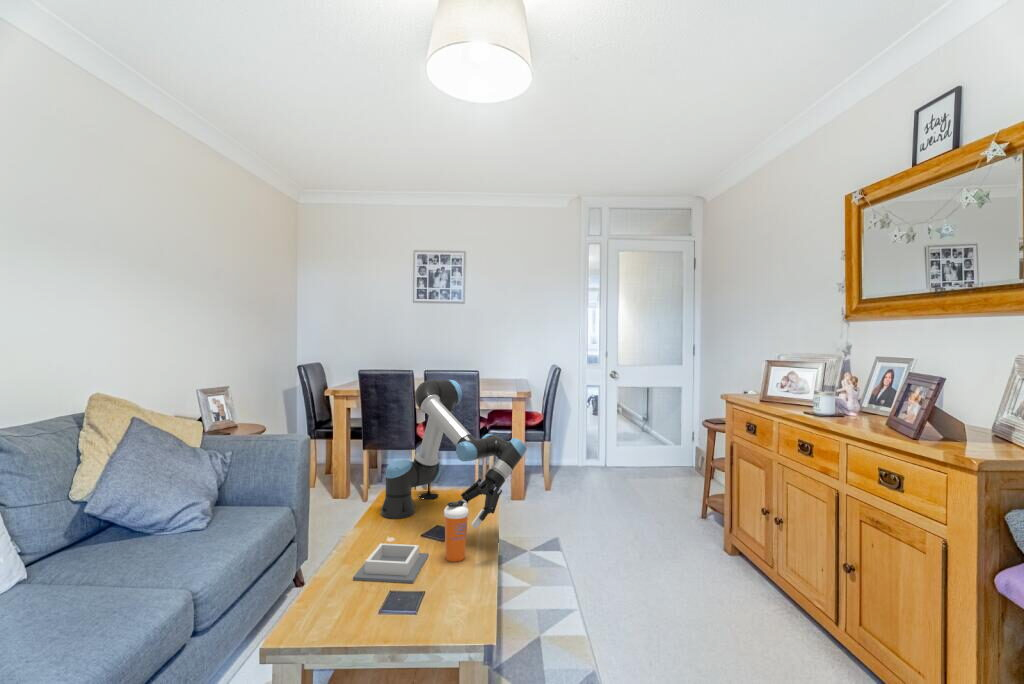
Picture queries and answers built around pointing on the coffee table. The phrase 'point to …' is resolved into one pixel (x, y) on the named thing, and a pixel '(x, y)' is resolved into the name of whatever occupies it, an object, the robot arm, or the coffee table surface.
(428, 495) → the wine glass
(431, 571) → the coffee table surface
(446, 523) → the shaker bottle
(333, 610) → the coffee table surface
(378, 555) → the holder
